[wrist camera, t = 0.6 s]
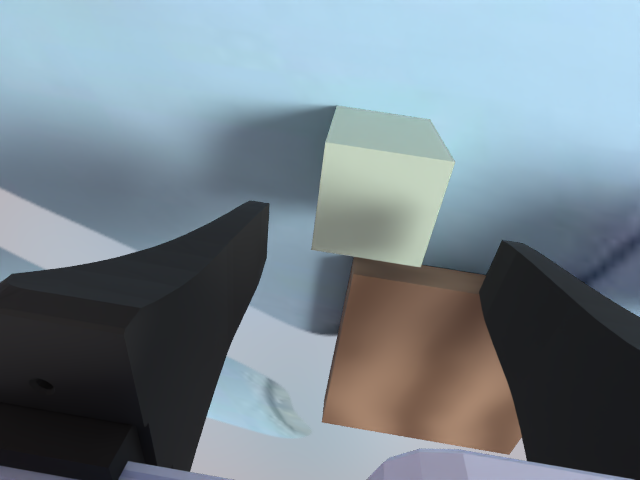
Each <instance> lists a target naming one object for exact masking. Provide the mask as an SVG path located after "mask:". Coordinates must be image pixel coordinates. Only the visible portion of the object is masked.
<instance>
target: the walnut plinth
mask: <svg viewBox="0 0 640 480" xmlns="http://www.w3.org/2000/svg"><path fill="white" fill-rule="evenodd" d="M485 277H486V275H481V274H475V273H469V272H463V271H457V270H450V269H444V268H438V267H432V266H425V265H421V267H415V266H409V265H403V264H397V263H390V262H384V261H378V260H372V259H366V258H359V257H354V258H353V263H352V268H351V272H350V277H349V282H348V287H347V292H346V297H345V302H344V306H343V311H342V316H341V321H340V326H339V331H338V336H337V341H336V345H335V351H334V355H333V360H332V365H331V370H330V375H329V379H328V385H327V389H326V394H325V399H324V408H323V418H322V422H324V423H330V424H335V425H341V426H346V427H352V428H358V429H364V430H370V431H375V432H381V433H388V434H393V435H398V436H404V437H411V438H416V439H422V440H427V441H434V442H439V443H445V444H451V445H456V446H462V447H468V448H474V449H479V450H485V451H491V452H497V453H502V454H510V453H511V451H512V450H513V449H514V447H515V446H516V444H517V443H518V442H519V440H520V439H521V438H522V435H521V430H520V426H519V422H518V418H517V414H516V410H515V406H514V402H513V398H512V395H511V392H510V389H509V386H508V383H507V380H506V377H505V375H504V372H503V369H502V367H501V364H500V361H499V359H498V356H497V353H496V351H495V348H494V346H493V343H492V340H491V337H490V335H489V332H488V329H487V326H486V323H485V320H484V316H483V312H482V307H481V302H480V296H479V290H480V288H481V286H482V284H483V281H484V279H485Z"/></svg>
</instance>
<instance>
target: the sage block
mask: <svg viewBox="0 0 640 480" xmlns="http://www.w3.org/2000/svg"><path fill="white" fill-rule="evenodd" d="M454 164H455V161H454V159H453V158H452V156H451V154H450V152H449V151H448V149H447V147H446V146H445V144H444V142H443V141H442V139H441V137H440V136H439V134H438V132H437V130H436V129H435V127H434V125H433V124H432V122H431V120H430V119H424V118H417V117H411V116H404V115H397V114H391V113H384V112H377V111H370V110H364V109H357V108H350V107H344V106H337V107H336V110H335V113H334V116H333V120H332V123H331V126H330V129H329V132H328V135H327V139H326V142H325V149H324V156H323V164H322V172H321V179H320V187H319V195H318V202H317V210H316V218H315V225H314V233H313V241H312V248H311V250H316V251H322V252H328V253H334V254H341V255H347V256H353V257H359V258H366V259H372V260H378V261H384V262H390V263H397V264H403V265H409V266H415V267H421V265H422V262H423V258H424V255H425V252H426V249H427V246H428V243H429V240H430V237H431V234H432V231H433V228H434V225H435V222H436V219H437V216H438V213H439V210H440V207H441V204H442V201H443V197H444V194H445V191H446V188H447V185H448V182H449V179H450V176H451V173H452V170H453V167H454Z"/></svg>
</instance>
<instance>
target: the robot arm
mask: <svg viewBox="0 0 640 480" xmlns="http://www.w3.org/2000/svg"><path fill="white" fill-rule="evenodd" d="M268 221H269V203H263V202H256V201H248V202H246V203H244V204H242V205H241V206H239V207H237V208H235V209H234V210H232V211H230V212H229V213H227V214H225V215H223V216H221V217H220V218H218V219H216V220H214V221H212V222H211V223H208V224H206V225H204V226H202V227H200V228H198V229H196V230H194V231H192V232H190V233H188V234H186V235H184V236H181V237H179V238H176V239H174V240H171V241H169V242H166V243H163V244H161V245H158V246H155V247H152V248H149V249H145V250H142V251H138V252H135V253H131V254H128V255H124V256H120V257H117V258H112V259H108V260H103V261H98V262H94V263H89V264H83V265H77V266H72V267H65V268H58V269H49V270H41V271H33V272H25V273H15V274H11V275H10V276H9V277H7V278H6V279H5V280H3V281H2V282H1V283H0V480H232V479H227V478H221V477H216V476H209V475H204V474H198V473H192V472H190V470H191V466H192V463H193V459H194V456H195V453H196V449H197V446H198V442H199V439H200V436H201V433H202V429H203V426H204V423H205V419H206V416H207V413H208V410H209V407H210V404H211V401H212V397H213V394H214V391H215V388H216V385H217V382H218V379H219V376H220V373H221V370H222V367H223V364H224V361H225V358H226V355H227V352H228V350H229V347H230V345H231V342H232V340H233V337H234V335H235V333H236V331H237V329H238V327H239V325H240V323H241V320H242V318H243V316H244V314H245V312H246V310H247V308H248V306H249V303H250V301H251V299H252V297H253V295H254V293H255V290H256V288H257V286H258V284H259V281H260V278H261V275H262V271H263V268H264V265H265V261H266V258H267V239H268ZM479 296H480V302H481V307H482V312H483V316H484V320H485V323H486V326H487V329H488V332H489V335H490V337H491V340H492V343H493V346H494V348H495V351H496V353H497V356H498V359H499V361H500V364H501V367H502V369H503V372H504V375H505V377H506V380H507V383H508V386H509V389H510V392H511V395H512V398H513V402H514V406H515V410H516V414H517V418H518V422H519V426H520V430H521V435H522V439H523V444H524V449H525V453H526V458H527V461H523V460H517V459H511V458H506V457H500V456H494V455H488V454H482V453H476V452H471V451H465V450H459V449H417V450H413V451H410V452H407V453H403V454H400V455H397V456H394V457H390V458H388V459H387V460H386V461H385V462H383V464H381V466H379V467H378V468H377V470H375V472H374V473H373V474H372V475H371V476H370V477H369V478H368V479H367V480H640V317H638V316H637V315H635V314H633V313H631V312H630V311H628V310H626V309H624V308H623V307H621V306H619V305H618V304H616V303H615V302H613V301H611V300H610V299H608V298H607V297H605V296H603V295H602V294H600V293H599V292H597V291H595V290H594V289H592V288H591V287H589V286H588V285H586V284H585V283H583V282H582V281H580V280H579V279H577V278H576V277H574V276H573V275H571V274H570V273H569V272H567V271H566V270H564V269H563V268H561V267H560V266H558V265H557V264H555V263H554V262H552V261H551V260H549V259H548V258H546V257H545V256H543V255H542V254H540V253H539V252H537V251H536V250H534V249H532V248H531V247H529V246H527V245H525V244H523V243H518V242H511V241H505V240H502V241H501V244H500V246H499V248H498V250H497V253H496V255H495V257H494V259H493V261H492V264H491V266H490V268H489V270H488V273H487V275H486V277H485V279H484V281H483V284H482V286H481V288H480V290H479Z"/></svg>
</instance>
